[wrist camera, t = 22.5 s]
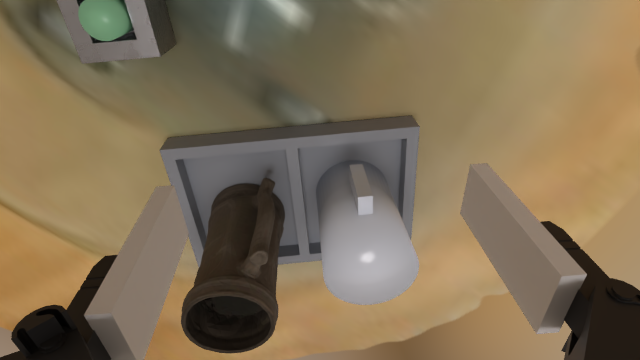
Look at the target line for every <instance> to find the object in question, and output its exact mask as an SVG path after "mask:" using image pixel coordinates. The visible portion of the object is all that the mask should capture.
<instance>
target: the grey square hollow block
mask: <svg viewBox="0 0 640 360" xmlns="http://www.w3.org/2000/svg"><path fill="white" fill-rule="evenodd" d="M83 1H84V0H57V3H58V5H59V7H60V10H61V12H62V15H63V17H64V20H65V22H66V25H67V27H68V30H69V32H70V35H71V37H72V40H73V42H74V45H75V47H76V50H77V52H78V55H79V57H80V59H81V62H82V63H93V62H104V61H116V60H127V59H139V58H150V57H161V56H162V55H163V54H165V53H166V52H167V51H168V50H170V49H171V48H172V47H174V46H175V45H176V41H175V37H174V33H173V30H172V26H171V22H170V18H169V15H168V11H167V7H166V3H165V0H125V3H126V6H127V10H128V13H129V16H130V19H131V22H132V25H133V28H134V30H133V31H131V32H129V33H127V34H125V35H123V36H120V37H118V38H116V39H114V40H111V41H101V40H98V39H95V38H94V37H92V36H91V35H89V34H88V33H87V32H86V31H85V30H84V28H83V27H82V25H81V23H80V20H79V16H78V10H79V7H80V5H81V3H82V2H83Z"/></svg>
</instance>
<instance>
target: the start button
mask: <svg viewBox="0 0 640 360" xmlns="http://www.w3.org/2000/svg"><path fill="white" fill-rule="evenodd" d="M78 16H79V20H80V23H81V25H82V27H83V28H84V30H85V31H86V32H87V33H88V34H89V35H91V36H92V37H94V38H95V39H98V40H101V41H111V40H114V39H116V38H118V37H120V36H123V35H125V34H127V33H129V32H131V31H133V30H134V28H133V25H132V22H131V19H130V16H129V13H128V10H127V6H126V3H125V0H84V1H83V2H82V3H81V5H80V7H79V10H78Z"/></svg>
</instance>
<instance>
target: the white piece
mask: <svg viewBox="0 0 640 360" xmlns="http://www.w3.org/2000/svg"><path fill="white" fill-rule="evenodd" d="M316 200H317V210H318V221H319V232H320V243H321V254H322V265H323V276H324V281H325V284H326V286H327V288H328V289H329V291H330V292H331V293H332V294H333V295H334V296H336V297H337V298H339V299H341V300H343V301H345V302H348V303H352V304H359V305H372V304H378V303H382V302H385V301H389V300H391V299H393V298H395V297H397V296H399V295H400V294H402V293H403V292H404V291H406V290H407V289H408V288H409V287H410V286H411V285H412V283H413V282H414V280H415V278H416V276H417V274H418V269H419V261H418V257H417V255H416V252H415V250H414V247H413V245H412V242H411V240H410V238H409V235H408V233H407V230H406V228H405V225H404V223H403V220H402V218H401V216H400V213H399V211H398V208H397V206H396V203H395V201H394V198H393V196H392V194H391V191H390V189H389V186H388V184H387V181H386V179H385V177H384V175H383V173H382V172H381V171H380V170H379V169H378V168H377V167H375V166H374V165H372V164H370V163H368V162H365V161H359V160H350V161H344V162H341V163H338V164H336V165H334V166H332V167H331V168H329V169H328V170H327V171H326V172H325V173H324V174H323V175H322V176H321V178H320V180H319V182H318V184H317V188H316Z"/></svg>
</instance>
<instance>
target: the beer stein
mask: <svg viewBox="0 0 640 360" xmlns="http://www.w3.org/2000/svg"><path fill="white" fill-rule="evenodd" d="M274 186H275V182H274V181H273V180H271V179H269V178H263V180H262V182H261V185H260V186H258V185H253V184H239V185H233V186H231V187H228V188H226V189H224V190H223V191H221V192H220V193H219V194H218V195H217V196H216V198H215V199H214V201H213V204H212V206H211V215H210V218H209V221H208V234H207V240H206V244H205V247H204V251H203V254H202V259H201V264H200V267H199V269H198V272H197V276H196V279H195V282H194V287H193V288H192V289H191V290H190V291H189V292H188V294H187V296H186V298H185V299H184V302H183V307H182V316H181V324H182V328H183V331H184V333H185V335H186V336H187V337H188V338H189V340H190V341H192V342H193V343H195V344H196V345H197V346H199V347H201V348H203V349H206V350H210V351H215V352H219V353H241V352H245V351H249V350H252V349H254V348H257V347H259V346H261V345H262V344H264V343H265V342H266V341H267V340H268V339H269V338H270V337H271V336H272V334H273V332H274V330H275V325H276V321H277V318H278V304H277V301H276V280H277V266H278V254H279V246H280V239H281V237H282V234H283V230H284V227H283V224H284V220H285V211H284V206H283V204H282V202H281V201H280V199H279V198H278V197H277V196H276V195H275V194H274V193H273V192H272V191H273V189H274Z"/></svg>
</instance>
